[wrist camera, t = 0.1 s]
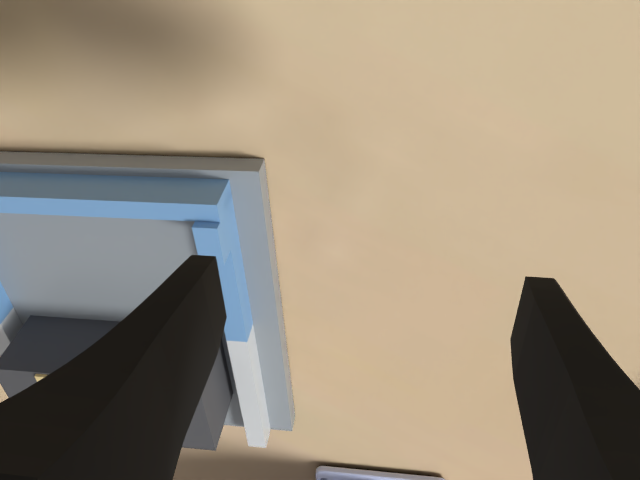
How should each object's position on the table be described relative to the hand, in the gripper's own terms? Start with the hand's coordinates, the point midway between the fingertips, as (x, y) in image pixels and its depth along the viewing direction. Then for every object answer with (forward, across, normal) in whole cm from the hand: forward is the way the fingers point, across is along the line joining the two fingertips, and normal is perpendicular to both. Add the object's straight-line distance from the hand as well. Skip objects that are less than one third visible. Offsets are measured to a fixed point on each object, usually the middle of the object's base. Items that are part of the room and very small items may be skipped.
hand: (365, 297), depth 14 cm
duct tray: (+10, +13, +11) cm, 20 cm away
